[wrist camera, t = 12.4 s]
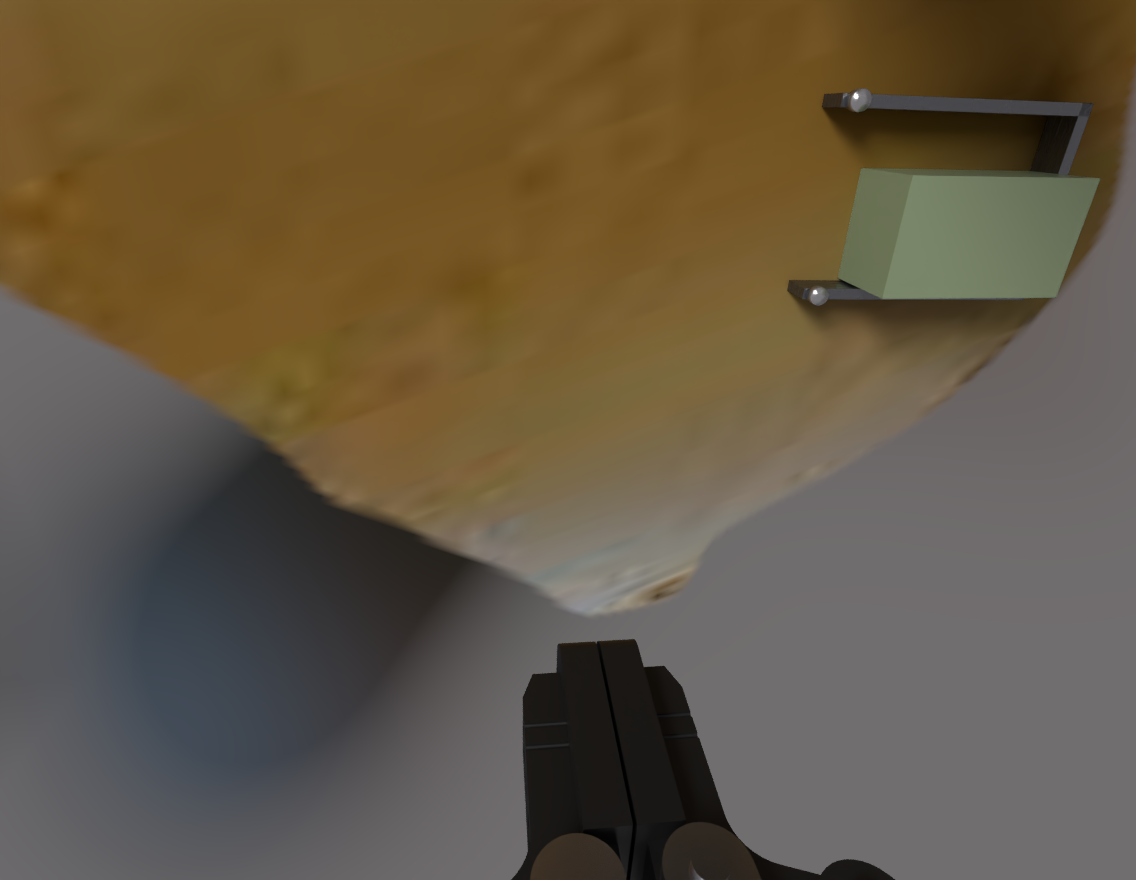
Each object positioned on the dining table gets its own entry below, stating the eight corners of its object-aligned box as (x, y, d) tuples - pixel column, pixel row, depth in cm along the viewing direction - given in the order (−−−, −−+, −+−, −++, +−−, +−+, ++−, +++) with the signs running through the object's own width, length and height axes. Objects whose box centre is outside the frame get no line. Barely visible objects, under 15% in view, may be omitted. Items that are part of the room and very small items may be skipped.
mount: (825, 89, 33) (850, 88, 31) (1064, 99, 34) (1105, 98, 32) (786, 293, 38) (806, 305, 35) (997, 294, 39) (1029, 306, 37)
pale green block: (859, 167, 35) (912, 175, 31) (1025, 170, 36) (1100, 178, 32) (836, 277, 38) (882, 298, 33) (991, 276, 39) (1056, 297, 34)
